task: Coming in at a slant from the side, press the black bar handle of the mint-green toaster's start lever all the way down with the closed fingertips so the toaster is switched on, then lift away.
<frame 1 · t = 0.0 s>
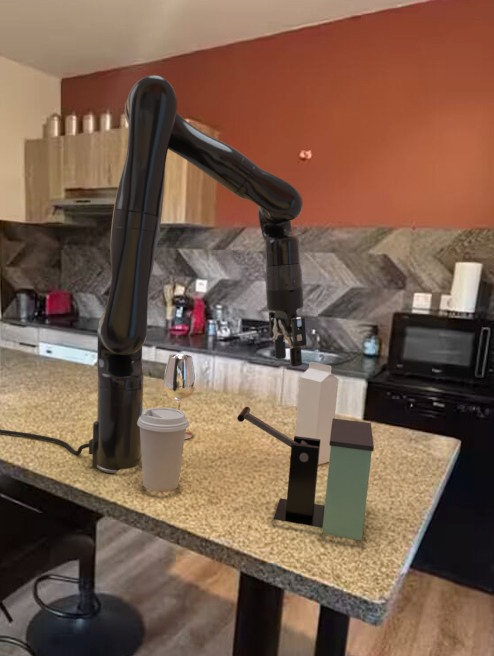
hand: (288, 361, 119), 22 cm above the countertop, tool pointing down, fingers open, 8 cm apart
milk: (311, 460, 124), on the countertop
toaster lever: (276, 434, 94), point 14 cm above the countertop, hinge at 26.0°
coffee cup: (160, 490, 104), on the countertop
toaster bracket: (299, 518, 95), on the countertop
toaster body: (341, 525, 93), on the countertop
wineglass: (176, 436, 137), on the countertop
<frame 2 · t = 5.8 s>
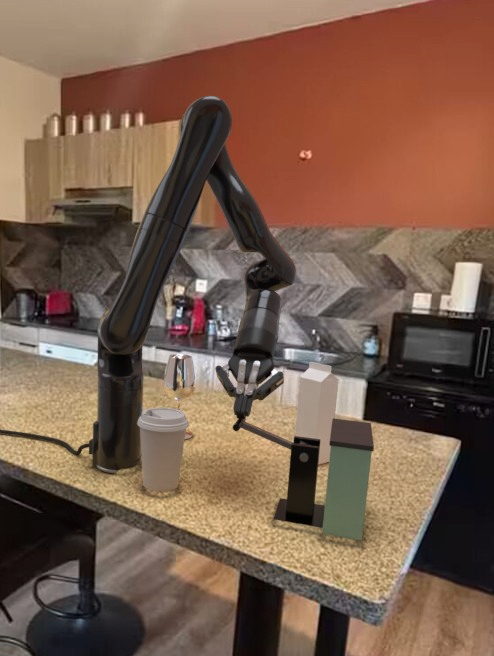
hand: (240, 416, 95), 17 cm above the countertop, tool tilted 45°, fingers closed
toaster lever: (274, 438, 94), point 14 cm above the countertop, hinge at 17.2°, touching gripper
everything else where it was.
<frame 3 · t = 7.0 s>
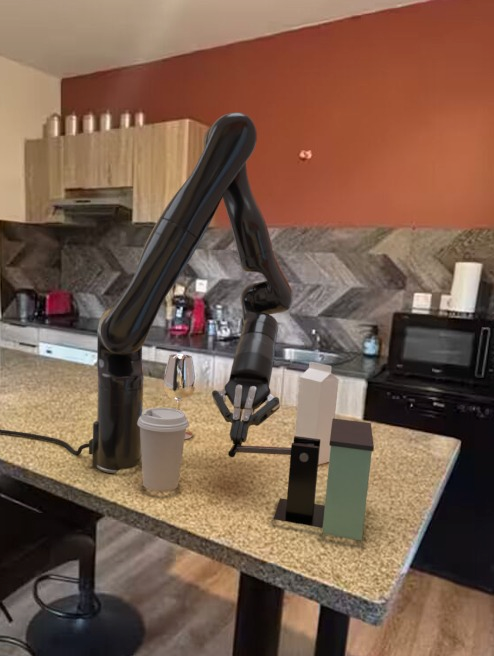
hand: (236, 442, 96), 12 cm above the countertop, tool tilted 45°, fingers closed
toaster lever: (271, 450, 94), point 11 cm above the countertop, hinge at -5.6°, touching gripper
everything else where it was.
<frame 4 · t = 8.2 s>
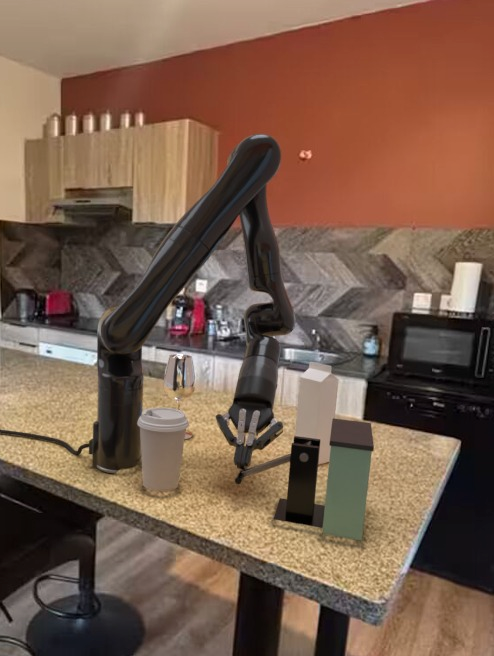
hand: (240, 467, 97), 8 cm above the countertop, tool tilted 45°, fingers closed
toaster lever: (274, 462, 95), point 9 cm above the countertop, hinge at -28.7°, touching gripper
everything else where it was.
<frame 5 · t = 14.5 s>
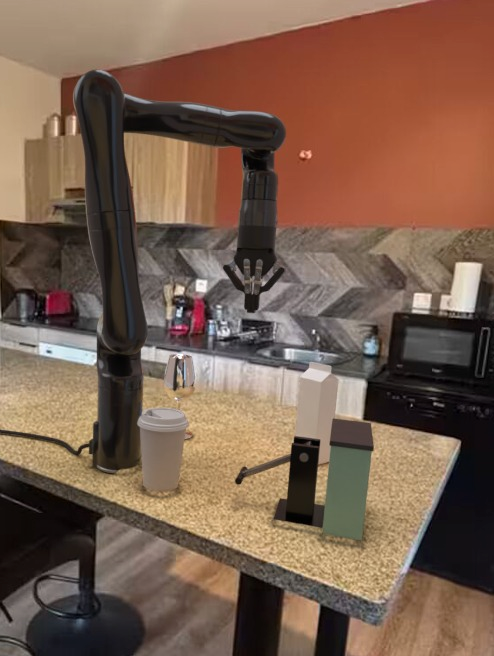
hand: (251, 312, 112), 33 cm above the countertop, tool pointing down, fingers closed
toaster lever: (274, 463, 95), point 9 cm above the countertop, hinge at -29.1°
everything else where it was.
at the end: toaster lever at -29° (first picture: +26°); toaster lever reached -29° during the clip, -29° at the end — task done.
